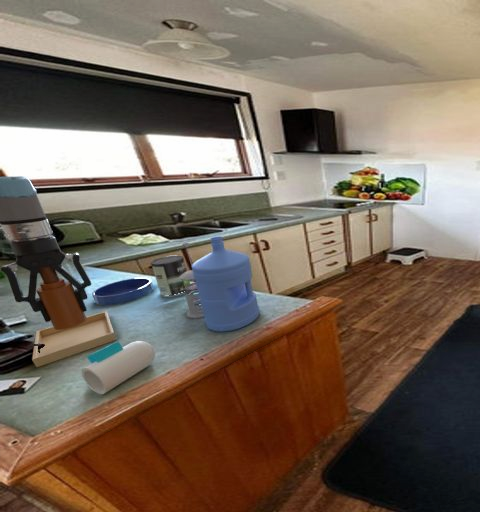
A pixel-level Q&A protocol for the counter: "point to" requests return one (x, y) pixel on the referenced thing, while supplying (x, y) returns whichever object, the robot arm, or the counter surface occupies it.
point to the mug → (116, 364)
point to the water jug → (225, 288)
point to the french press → (194, 307)
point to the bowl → (122, 291)
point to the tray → (73, 339)
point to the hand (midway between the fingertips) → (67, 314)
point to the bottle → (59, 300)
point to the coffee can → (170, 275)
